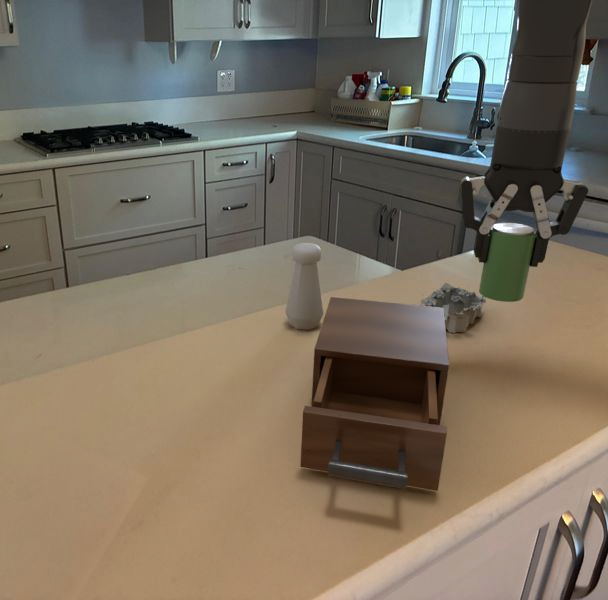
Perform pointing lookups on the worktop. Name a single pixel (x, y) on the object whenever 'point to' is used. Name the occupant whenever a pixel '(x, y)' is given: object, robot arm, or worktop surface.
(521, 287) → the can
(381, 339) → the cabinet
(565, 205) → the robot arm
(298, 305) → the salt shaker
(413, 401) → the drawer
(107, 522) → the worktop surface
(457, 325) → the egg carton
